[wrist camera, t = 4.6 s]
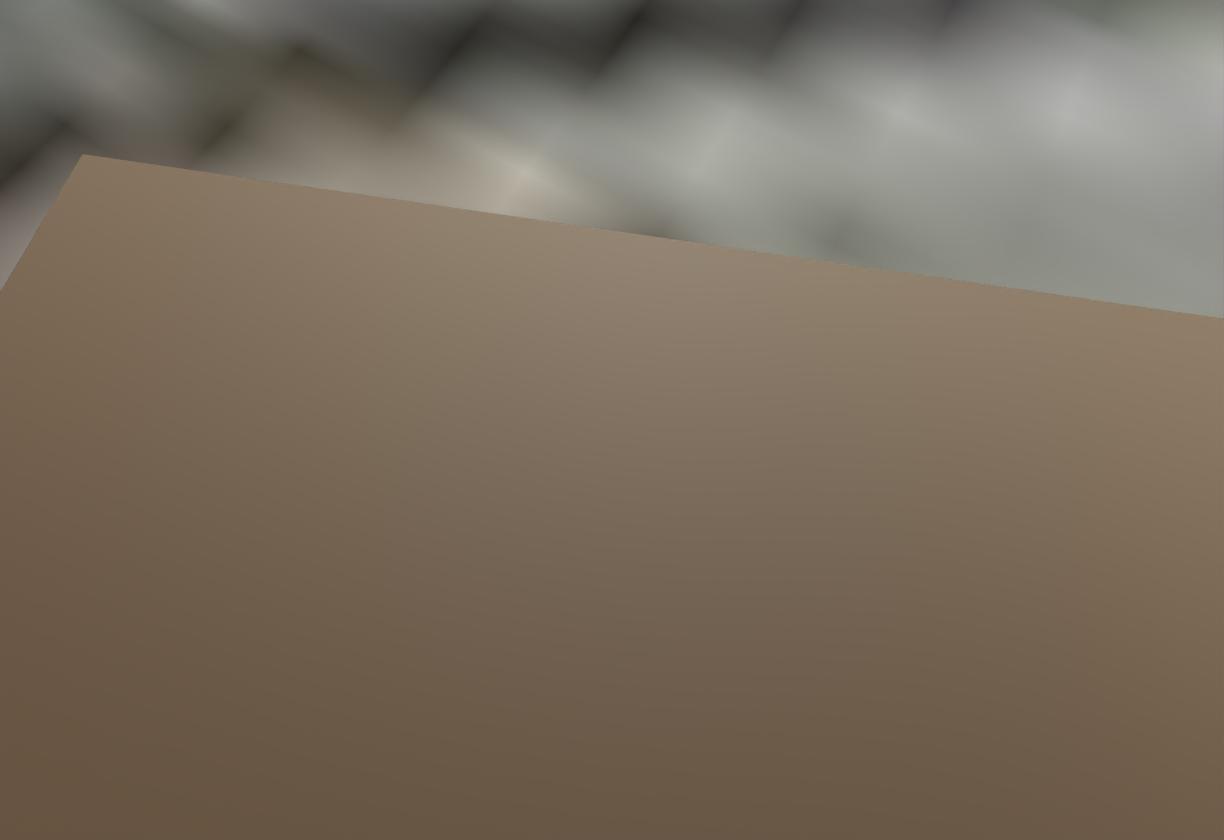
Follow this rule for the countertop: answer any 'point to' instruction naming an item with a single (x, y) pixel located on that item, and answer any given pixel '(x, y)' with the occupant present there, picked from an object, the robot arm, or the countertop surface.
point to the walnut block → (587, 536)
